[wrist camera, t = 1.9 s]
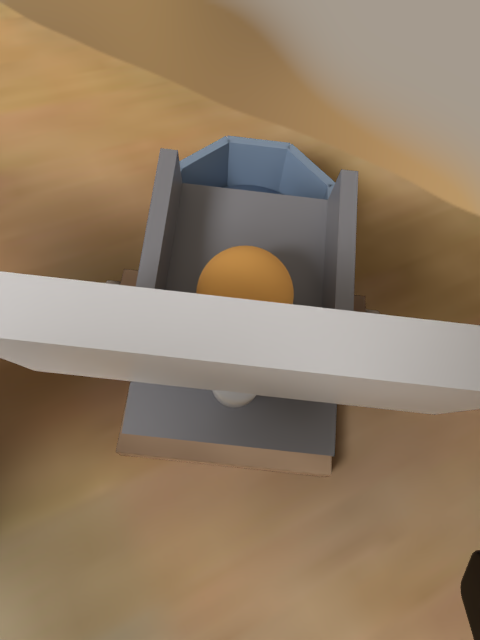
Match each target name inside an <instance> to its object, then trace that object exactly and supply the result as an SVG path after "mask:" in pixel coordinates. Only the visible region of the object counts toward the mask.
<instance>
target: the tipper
mask: <svg viewBox="0 0 480 640" xmlns="http://www.w3.org/2000/svg"><path fill="white" fill-rule="evenodd" d="M357 192H358V171H350V170H342V169H341V171H340V174H339V176H338V178H337V180H336V183H335V185H334V187H333V189H332V192H331V194H330V196H329V198H328V200H325V199H317V198H308V197H299V196H291V195H282V194H273V193H265V192H256V191H248V190H239V189H230V188H222V187H213V186H205V185H196V184H187V183H182V177H181V170H180V163H179V156H178V150H171V149H162V148H161V149H160V154H159V160H158V165H157V171H156V176H155V182H154V188H153V193H152V199H151V204H150V210H149V215H148V221H147V226H146V232H145V238H144V243H143V249H142V254H141V260H140V265H139V271H138V276H137V282H136V287H134V286H125V285H116V284H107V283H98V282H89V281H81V280H72V279H63V278H54V277H45V276H36V275H27V274H18V273H10V272H1V271H0V358H2V359H5V360H7V361H10V362H13V363H15V364H18V365H21V366H23V367H26V368H28V369H31V370H34V371H41V372H50V373H60V374H69V375H78V376H87V377H96V378H105V379H114V380H123V381H130V387H129V393H128V399H127V405H126V410H125V416H124V422H123V428H122V434H132V435H141V436H150V437H160V438H169V439H178V440H187V441H197V442H206V443H215V444H224V445H234V446H243V447H252V448H262V449H271V450H280V451H289V452H299V453H308V454H317V455H327V456H335V435H336V411H337V404H343V405H352V406H361V407H370V408H379V409H388V410H397V411H407V412H416V413H425V414H434V415H435V414H444V413H452V412H460V411H468V410H476V409H480V325H472V324H463V323H454V322H445V321H436V320H427V319H418V318H409V317H400V316H392V315H383V314H374V313H365V312H356V311H353V310H354V280H355V251H356V221H357ZM236 246H254V247H259V248H262V249H264V250H266V251H268V252H270V253H272V254H273V255H274V256H276V257H277V258H278V259H279V260H280V261H281V262H282V263H283V265H284V266H285V267H286V269H287V271H288V272H289V275H290V277H291V280H292V283H293V289H294V299H293V304H285V303H276V302H267V301H258V300H249V299H241V298H232V297H223V296H214V295H205V294H196V291H197V284H198V280H199V277H200V275H201V273H202V271H203V269H204V267H205V266H206V265H207V263H208V262H209V261H210V260H211V259H212V258H213V257H214V256H216V255H217V254H219V253H220V252H222V251H224V250H226V249H228V248H232V247H236Z"/></svg>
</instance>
